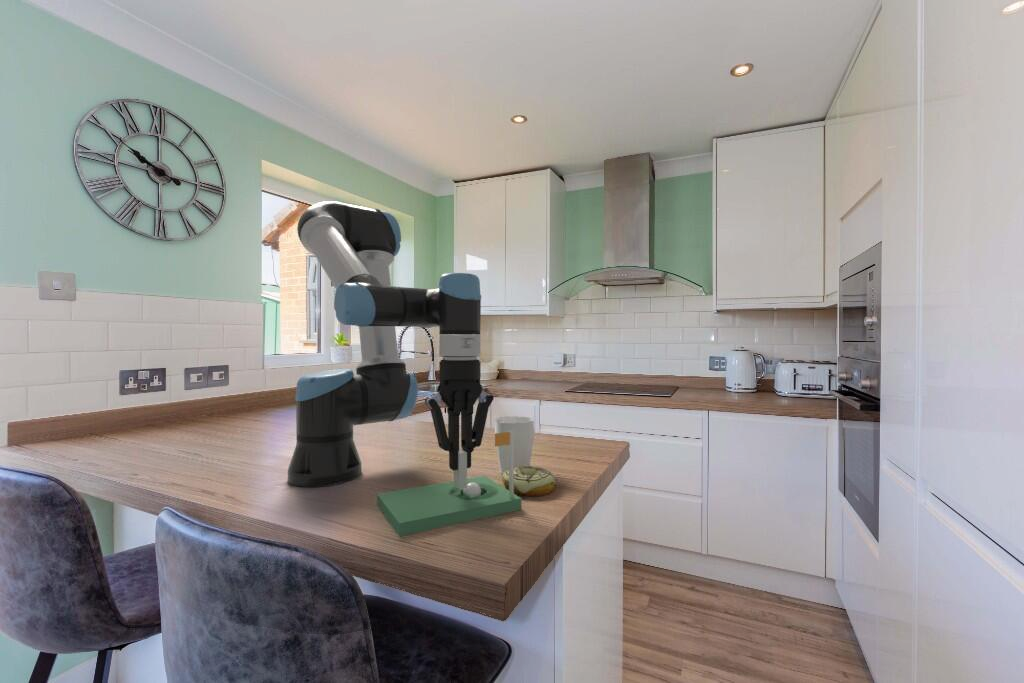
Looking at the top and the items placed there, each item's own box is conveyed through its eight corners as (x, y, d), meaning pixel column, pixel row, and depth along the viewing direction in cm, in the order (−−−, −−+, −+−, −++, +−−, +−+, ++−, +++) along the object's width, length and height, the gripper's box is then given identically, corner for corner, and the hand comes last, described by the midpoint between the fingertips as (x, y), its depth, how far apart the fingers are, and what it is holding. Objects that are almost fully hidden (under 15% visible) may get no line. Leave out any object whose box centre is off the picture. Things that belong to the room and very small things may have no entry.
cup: (518, 481, 97) (518, 425, 97) (486, 473, 102) (486, 420, 102) (541, 471, 104) (541, 419, 104) (510, 464, 110) (510, 414, 109)
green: (377, 504, 83) (376, 428, 83) (484, 485, 94) (484, 418, 94) (399, 536, 70) (399, 446, 70) (521, 509, 81) (521, 431, 81)
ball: (457, 491, 86) (471, 481, 88) (467, 506, 85) (481, 496, 87) (462, 486, 83) (476, 476, 85) (472, 502, 82) (486, 492, 84)
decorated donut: (525, 503, 85) (525, 482, 85) (492, 487, 93) (492, 469, 93) (565, 491, 91) (565, 472, 91) (531, 477, 100) (531, 460, 100)
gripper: (433, 360, 76) (433, 499, 77) (501, 358, 83) (501, 486, 83) (419, 358, 83) (419, 486, 83) (483, 356, 89) (483, 475, 90)
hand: (460, 486), depth 83 cm, fingers closed
